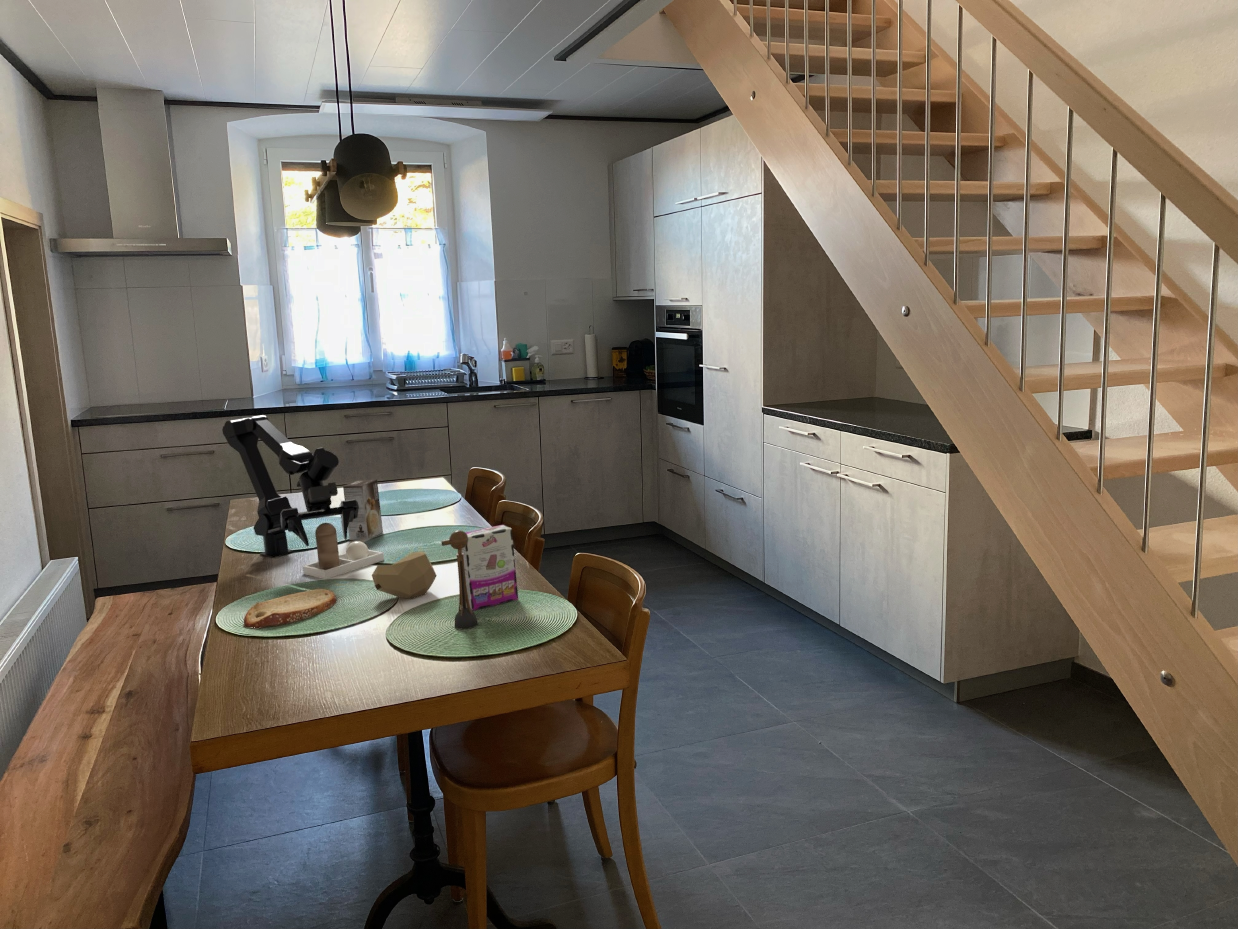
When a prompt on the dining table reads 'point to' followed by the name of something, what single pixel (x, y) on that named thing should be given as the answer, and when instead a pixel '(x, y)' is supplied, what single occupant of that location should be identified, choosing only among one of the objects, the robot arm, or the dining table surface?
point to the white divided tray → (343, 565)
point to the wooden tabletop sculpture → (462, 582)
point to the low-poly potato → (406, 576)
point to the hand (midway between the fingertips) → (327, 542)
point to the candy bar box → (490, 567)
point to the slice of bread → (289, 608)
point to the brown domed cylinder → (327, 546)
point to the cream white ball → (356, 551)
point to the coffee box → (364, 509)
